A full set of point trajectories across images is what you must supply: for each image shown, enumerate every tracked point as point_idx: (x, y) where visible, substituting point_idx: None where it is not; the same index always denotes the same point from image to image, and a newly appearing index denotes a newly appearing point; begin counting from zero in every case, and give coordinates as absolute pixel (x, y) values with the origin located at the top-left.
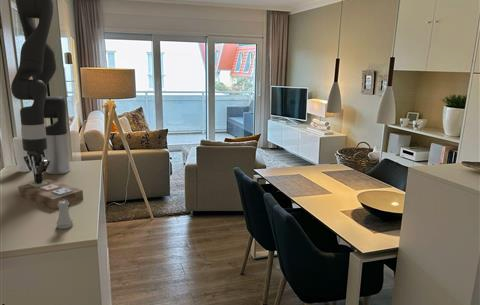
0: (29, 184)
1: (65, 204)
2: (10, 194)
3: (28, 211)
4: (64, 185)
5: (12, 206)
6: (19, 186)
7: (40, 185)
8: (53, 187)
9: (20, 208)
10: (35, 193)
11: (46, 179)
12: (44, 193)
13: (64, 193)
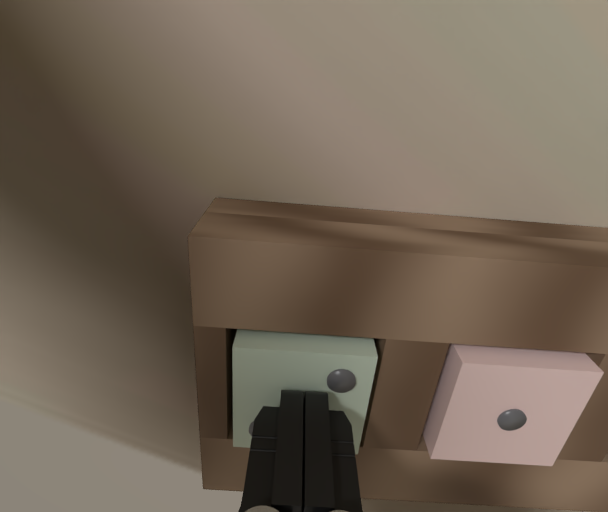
0: (235, 437)
1: None
2: (147, 427)
3: (516, 507)
4: (590, 289)
5: (369, 507)
6: (211, 484)
7: (363, 417)
8: (558, 413)
9: (437, 504)
10: (471, 499)
11: (192, 256)
12: (557, 487)
13: None
